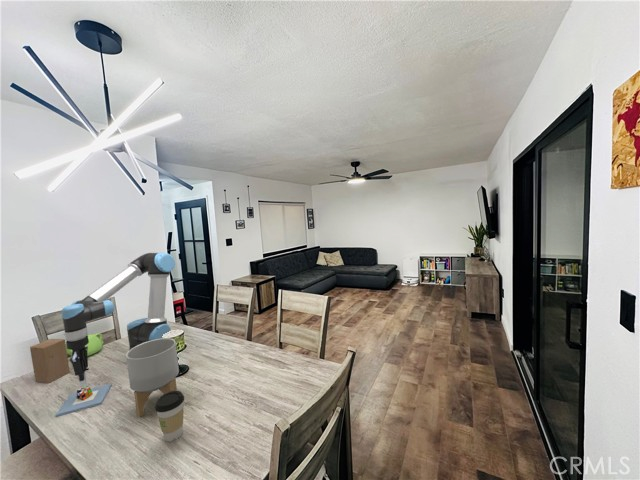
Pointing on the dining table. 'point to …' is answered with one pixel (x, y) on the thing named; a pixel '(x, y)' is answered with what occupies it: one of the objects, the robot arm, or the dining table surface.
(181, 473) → the dining table surface
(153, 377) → the planter
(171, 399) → the coffee cup
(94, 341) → the teapot
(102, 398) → the plate
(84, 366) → the robot arm
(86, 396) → the rubik's cube
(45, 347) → the wooden block
